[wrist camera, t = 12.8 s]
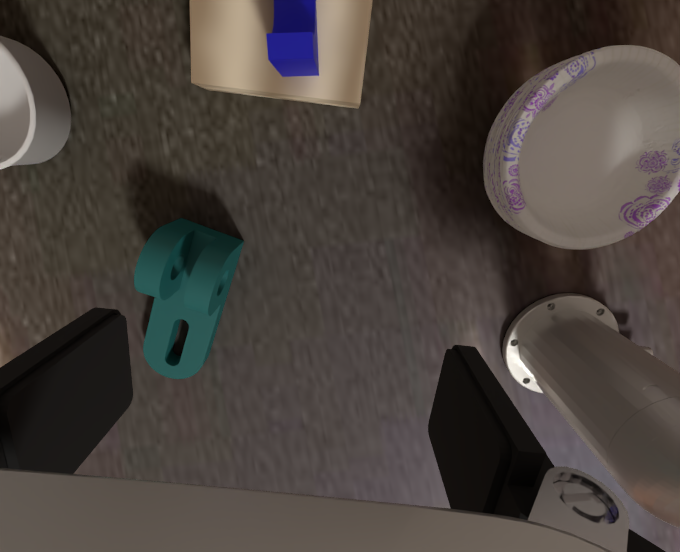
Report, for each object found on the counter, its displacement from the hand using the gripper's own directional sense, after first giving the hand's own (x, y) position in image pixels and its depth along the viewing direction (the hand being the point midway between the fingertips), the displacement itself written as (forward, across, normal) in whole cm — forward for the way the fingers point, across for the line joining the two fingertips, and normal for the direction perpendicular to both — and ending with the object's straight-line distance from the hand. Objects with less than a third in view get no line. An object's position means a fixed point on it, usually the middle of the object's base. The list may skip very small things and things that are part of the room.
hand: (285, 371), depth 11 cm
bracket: (+29, +14, +12) cm, 34 cm away
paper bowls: (+29, -21, -8) cm, 36 cm away
